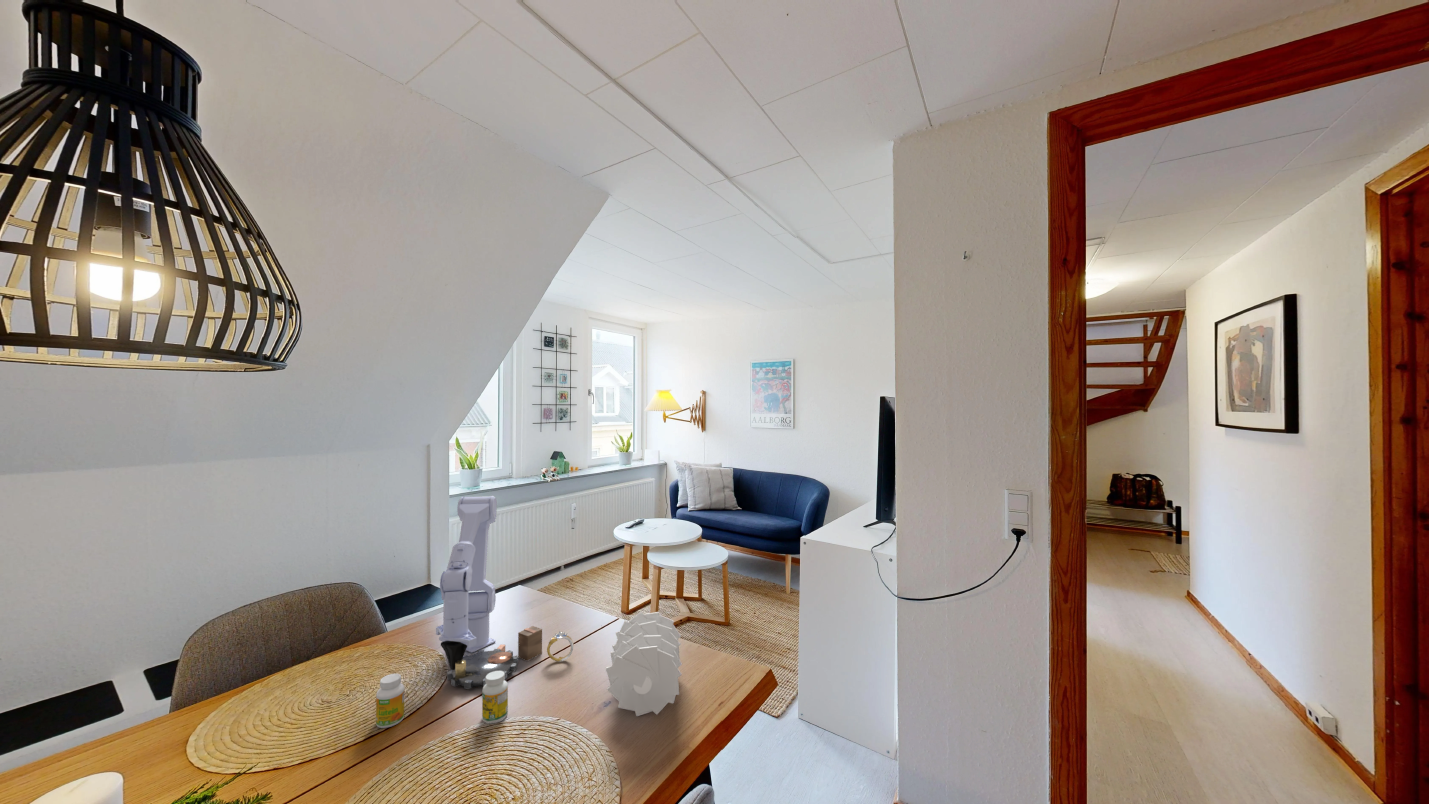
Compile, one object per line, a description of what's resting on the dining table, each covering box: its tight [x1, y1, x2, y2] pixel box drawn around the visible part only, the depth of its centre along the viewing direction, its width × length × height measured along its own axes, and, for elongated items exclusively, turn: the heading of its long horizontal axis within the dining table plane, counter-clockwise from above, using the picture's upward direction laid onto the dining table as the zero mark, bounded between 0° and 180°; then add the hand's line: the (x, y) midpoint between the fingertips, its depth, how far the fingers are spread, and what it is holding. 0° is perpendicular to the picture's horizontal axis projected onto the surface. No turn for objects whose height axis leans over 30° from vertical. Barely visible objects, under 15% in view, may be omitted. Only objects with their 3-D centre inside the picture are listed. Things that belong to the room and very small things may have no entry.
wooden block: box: [517, 625, 543, 662], centre depth 142 cm, size 4×5×7 cm
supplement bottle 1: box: [375, 673, 405, 729], centre depth 112 cm, size 5×5×10 cm
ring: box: [546, 630, 575, 663], centre depth 138 cm, size 7×3×8 cm, turn 98°
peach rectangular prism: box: [496, 644, 506, 652], centre depth 142 cm, size 3×1×2 cm, turn 0°
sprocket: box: [446, 648, 519, 690], centre depth 132 cm, size 17×17×5 cm
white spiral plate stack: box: [605, 611, 683, 717], centre depth 123 cm, size 18×18×25 cm
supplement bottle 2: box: [481, 671, 509, 724], centre depth 114 cm, size 5×5×10 cm
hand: (455, 667), depth 128 cm, fingers closed
